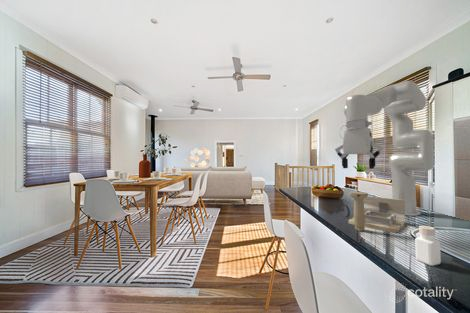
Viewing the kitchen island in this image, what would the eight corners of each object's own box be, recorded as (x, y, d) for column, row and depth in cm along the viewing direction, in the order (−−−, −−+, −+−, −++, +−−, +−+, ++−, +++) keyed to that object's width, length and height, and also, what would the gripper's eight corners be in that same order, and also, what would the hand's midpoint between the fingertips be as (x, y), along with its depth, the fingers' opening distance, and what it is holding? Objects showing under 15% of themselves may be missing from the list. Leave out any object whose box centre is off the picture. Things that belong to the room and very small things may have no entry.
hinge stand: (361, 216, 103) (360, 195, 103) (405, 224, 90) (404, 199, 90) (348, 223, 92) (347, 199, 92) (395, 233, 79) (394, 205, 80)
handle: (369, 233, 80) (368, 194, 80) (350, 230, 83) (349, 193, 83) (368, 229, 84) (367, 192, 84) (350, 227, 87) (349, 191, 87)
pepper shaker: (431, 266, 54) (430, 230, 55) (414, 260, 58) (413, 225, 59) (442, 264, 56) (440, 228, 56) (425, 257, 59) (423, 224, 60)
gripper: (385, 124, 80) (386, 168, 80) (339, 129, 93) (339, 167, 93) (379, 121, 75) (380, 169, 75) (331, 128, 89) (332, 168, 88)
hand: (358, 168), depth 84 cm, fingers open, 9 cm apart
